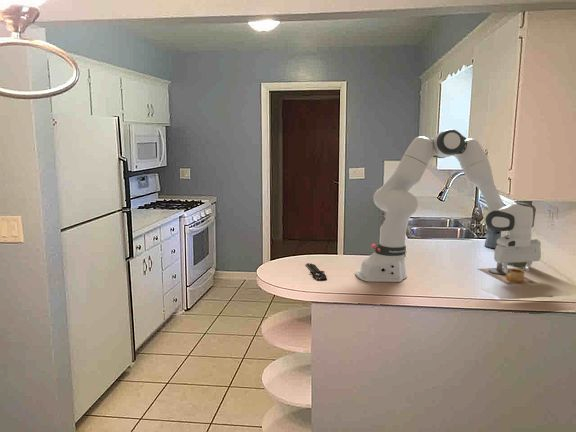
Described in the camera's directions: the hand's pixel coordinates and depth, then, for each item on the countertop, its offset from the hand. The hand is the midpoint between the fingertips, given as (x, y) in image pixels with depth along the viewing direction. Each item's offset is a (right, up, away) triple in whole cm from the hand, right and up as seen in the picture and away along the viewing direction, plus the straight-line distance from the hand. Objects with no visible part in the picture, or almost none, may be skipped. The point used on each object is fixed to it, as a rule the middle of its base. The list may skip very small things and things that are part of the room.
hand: (516, 271), depth 206 cm
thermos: (+12, -1, +25) cm, 28 cm away
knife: (-86, -2, +13) cm, 87 cm away
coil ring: (-1, -3, 0) cm, 3 cm away
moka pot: (+17, +6, +62) cm, 65 cm away
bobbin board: (-2, -4, +6) cm, 7 cm away
